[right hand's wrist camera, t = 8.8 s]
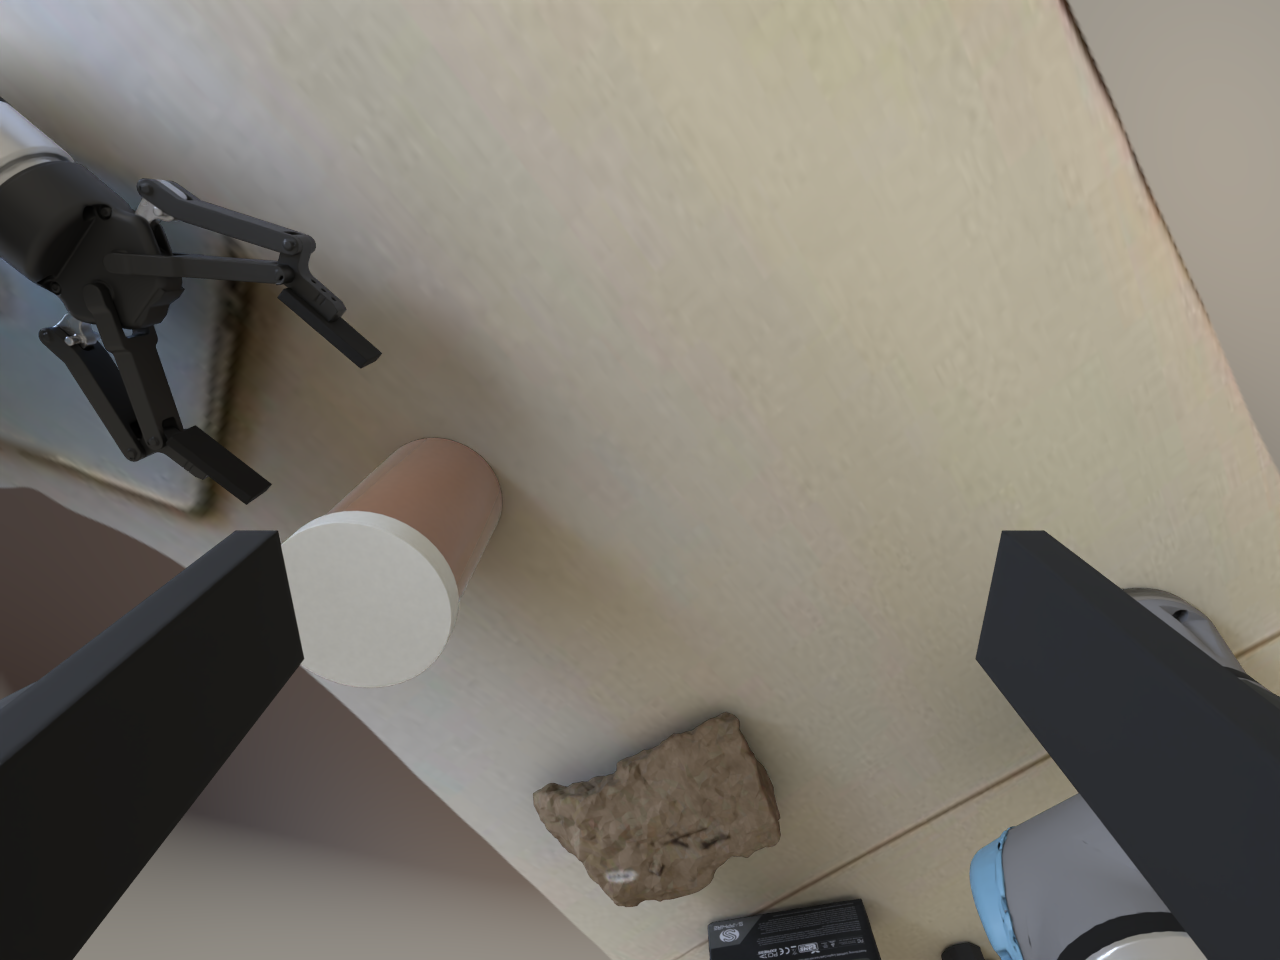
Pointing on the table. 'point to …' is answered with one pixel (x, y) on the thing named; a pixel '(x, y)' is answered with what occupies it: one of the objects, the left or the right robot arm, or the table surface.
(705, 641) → the table surface
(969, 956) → the robot
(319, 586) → the lid
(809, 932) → the graphics card box
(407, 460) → the jar
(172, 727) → the right robot arm
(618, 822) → the stone
